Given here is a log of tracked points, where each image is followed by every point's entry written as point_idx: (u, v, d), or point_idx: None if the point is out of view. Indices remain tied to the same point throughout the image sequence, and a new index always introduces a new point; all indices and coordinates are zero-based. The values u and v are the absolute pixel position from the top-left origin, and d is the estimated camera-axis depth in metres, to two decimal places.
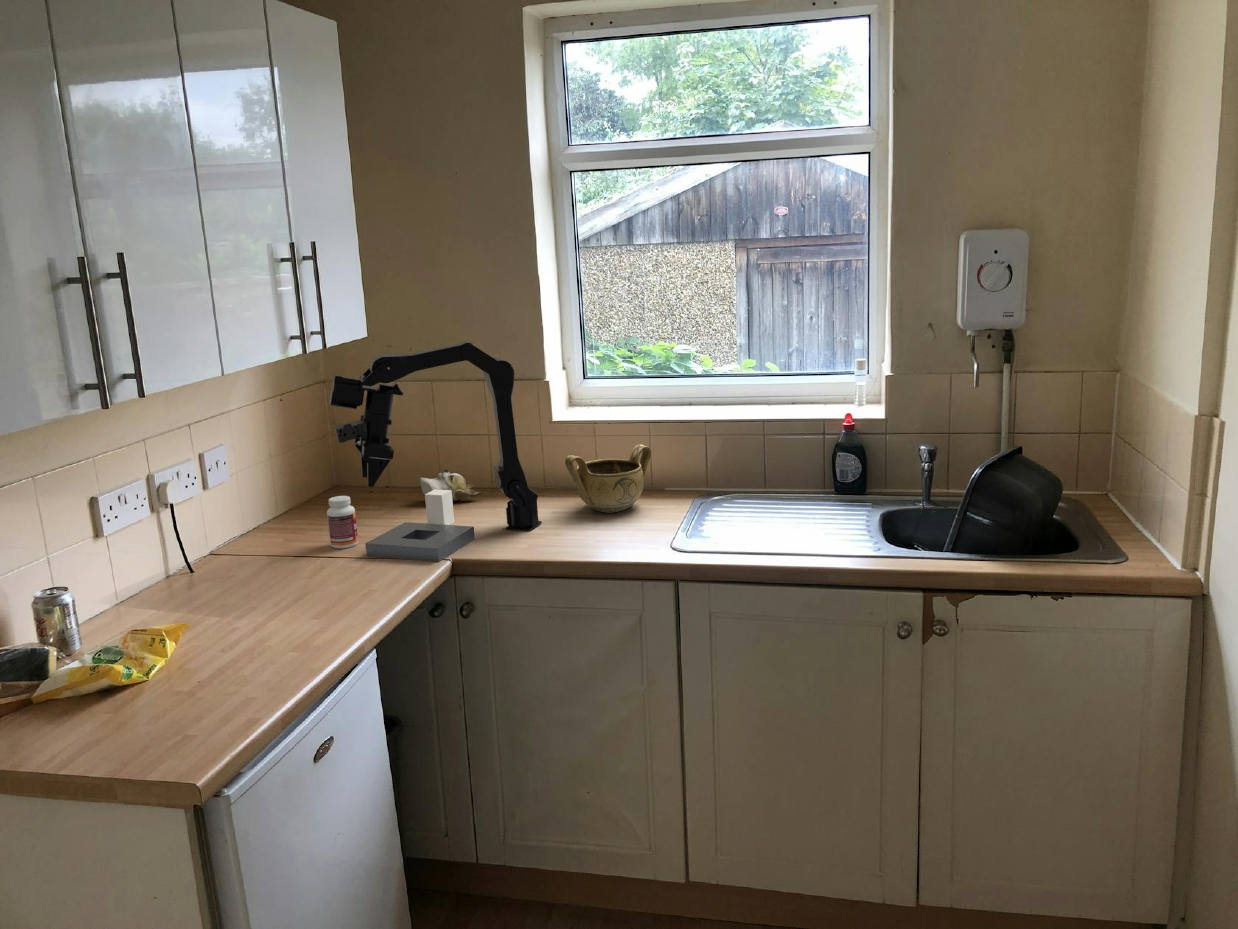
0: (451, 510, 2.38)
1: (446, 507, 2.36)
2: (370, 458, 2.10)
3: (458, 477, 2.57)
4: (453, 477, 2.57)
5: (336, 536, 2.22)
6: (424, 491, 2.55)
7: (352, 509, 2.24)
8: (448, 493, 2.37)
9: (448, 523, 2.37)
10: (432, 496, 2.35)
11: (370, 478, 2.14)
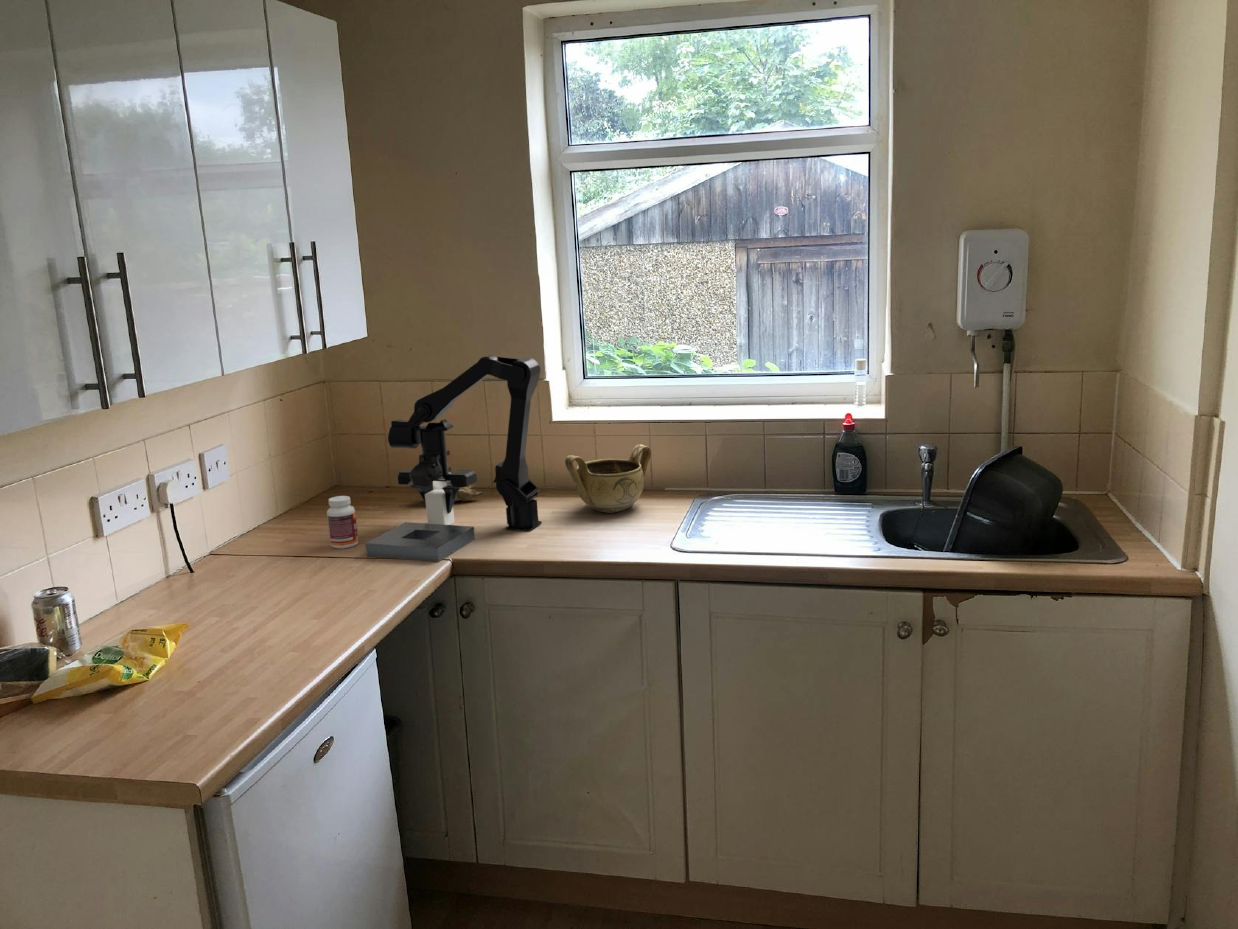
0: (451, 510, 2.38)
1: None
2: (456, 487, 2.33)
3: None
4: None
5: (336, 536, 2.22)
6: None
7: (352, 509, 2.24)
8: None
9: (448, 523, 2.37)
10: (432, 496, 2.35)
11: (450, 505, 2.36)
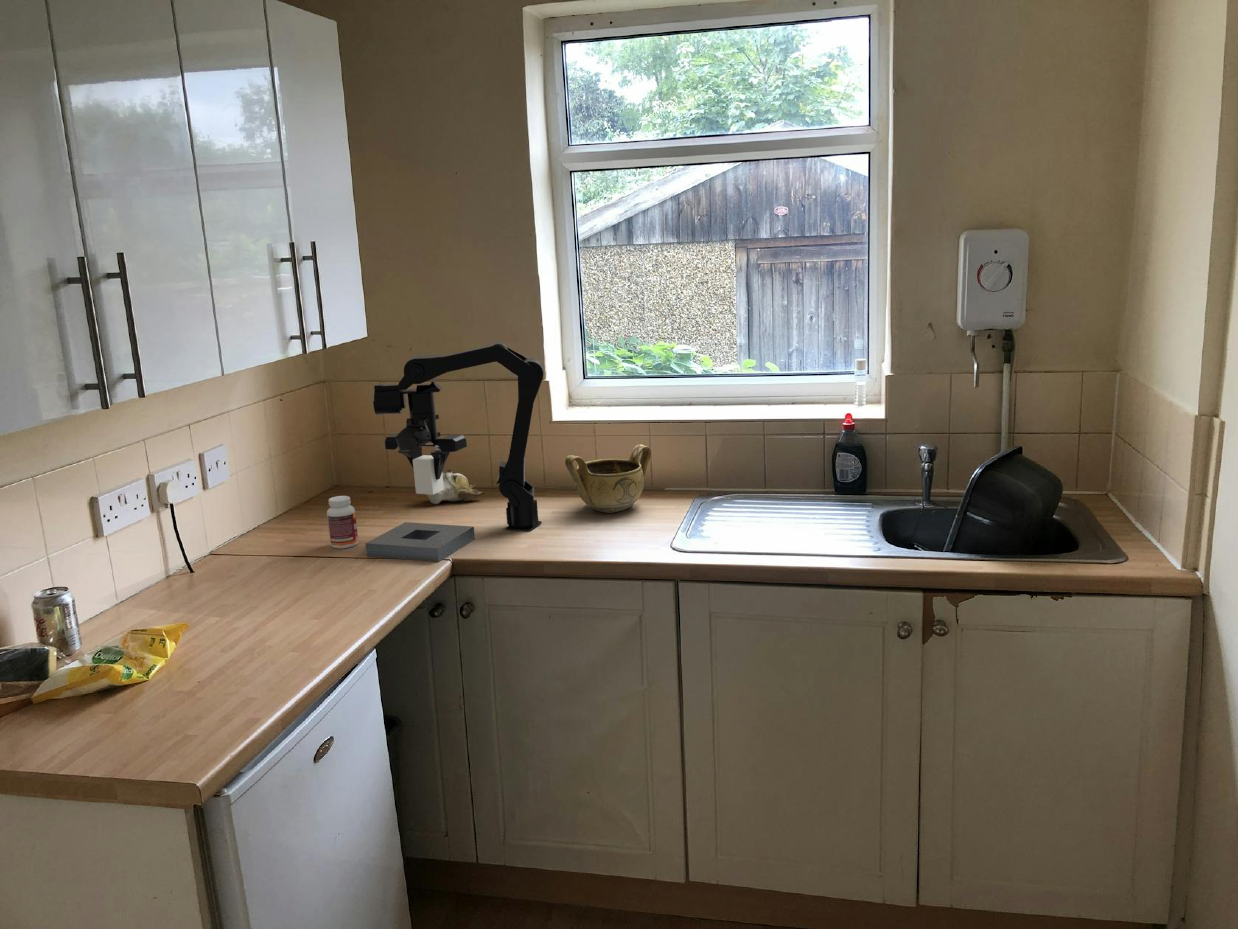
0: (440, 477, 2.29)
1: None
2: (444, 452, 2.24)
3: (461, 477, 2.57)
4: (456, 477, 2.56)
5: (336, 536, 2.22)
6: None
7: (352, 509, 2.24)
8: None
9: (437, 490, 2.28)
10: (420, 461, 2.26)
11: (439, 471, 2.27)
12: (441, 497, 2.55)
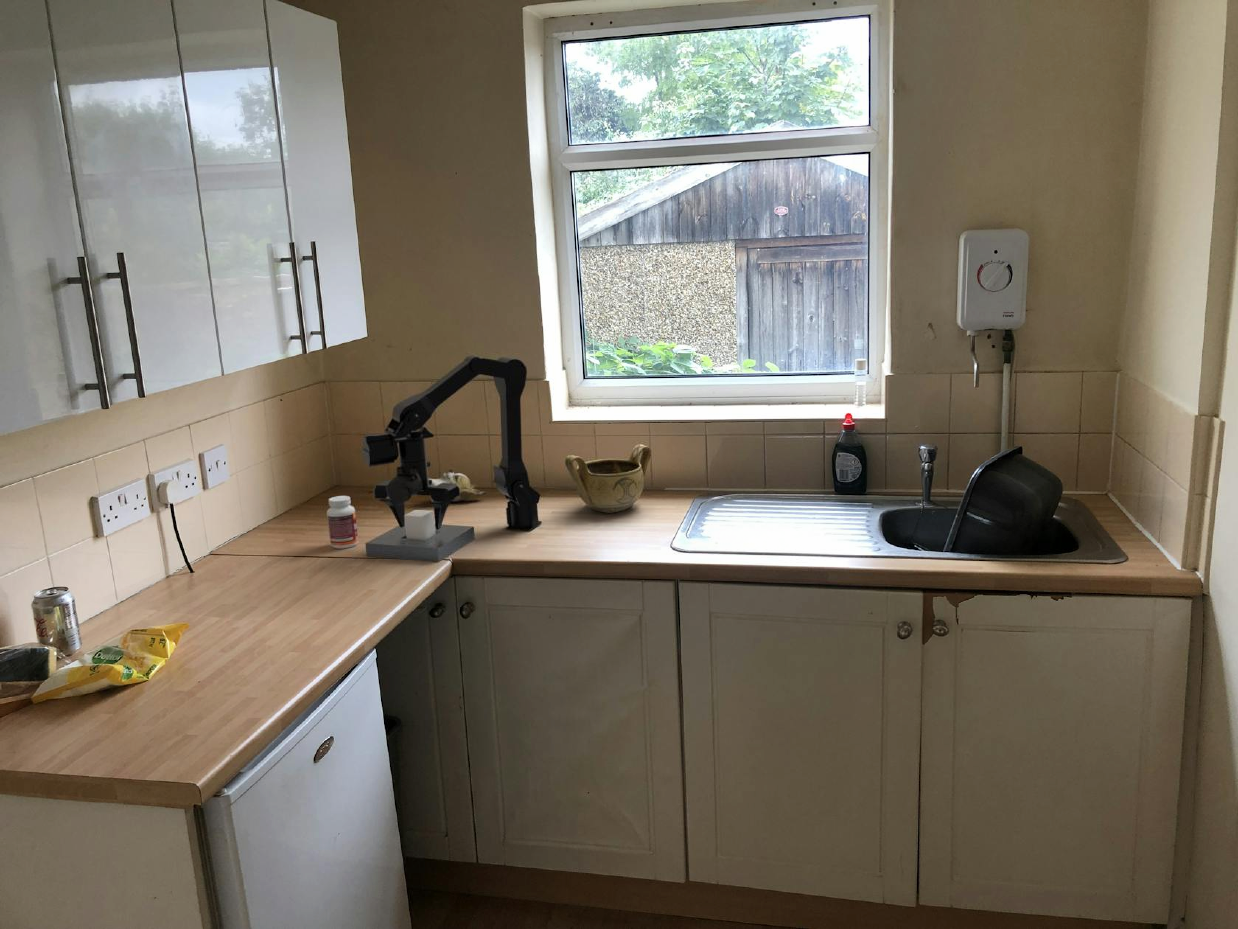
0: (433, 532, 2.21)
1: (428, 529, 2.19)
2: (445, 502, 2.15)
3: (463, 477, 2.57)
4: (458, 477, 2.56)
5: (336, 536, 2.22)
6: None
7: (352, 509, 2.24)
8: (429, 514, 2.19)
9: None
10: (412, 517, 2.17)
11: (439, 521, 2.18)
12: None
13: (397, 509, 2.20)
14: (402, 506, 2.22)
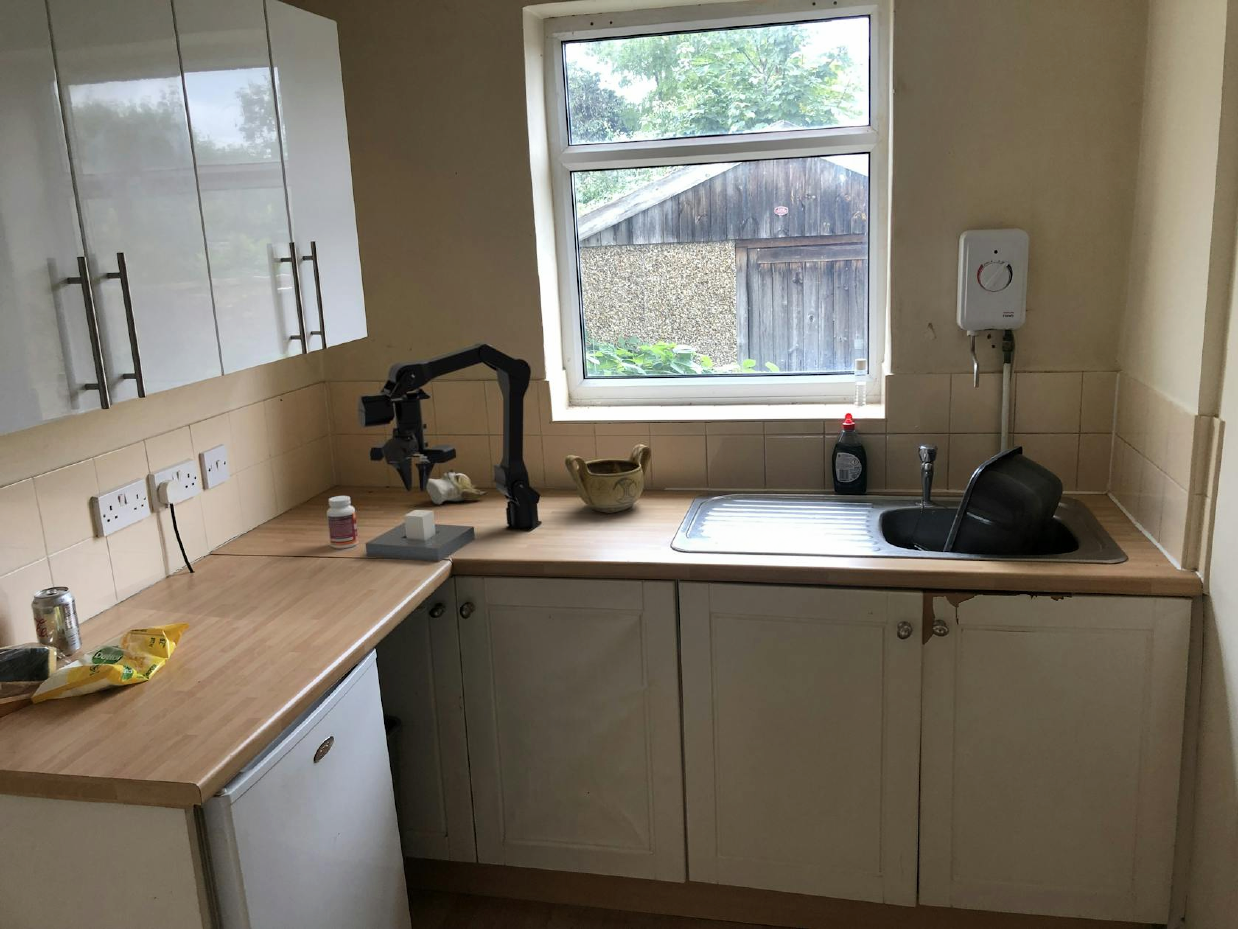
0: (433, 532, 2.21)
1: (428, 529, 2.19)
2: (430, 463, 2.14)
3: (464, 477, 2.57)
4: (459, 477, 2.56)
5: (336, 536, 2.22)
6: (430, 492, 2.55)
7: (352, 509, 2.24)
8: (429, 514, 2.19)
9: None
10: (412, 517, 2.18)
11: (424, 483, 2.17)
12: (444, 497, 2.54)
13: (404, 472, 2.17)
14: (409, 469, 2.19)
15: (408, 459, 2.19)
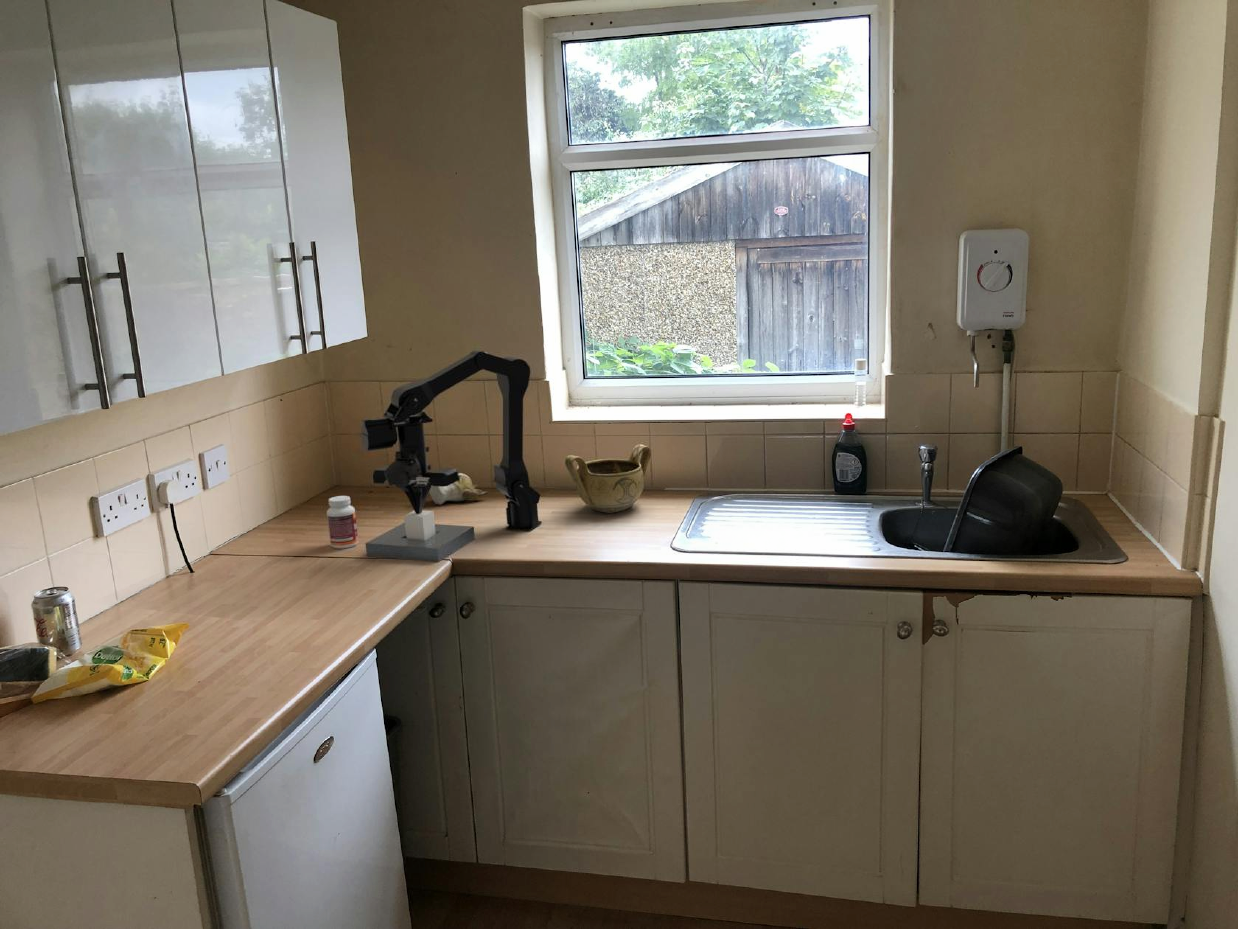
0: (433, 532, 2.21)
1: (428, 529, 2.19)
2: (426, 486, 2.15)
3: (465, 477, 2.57)
4: (460, 477, 2.56)
5: (336, 536, 2.22)
6: (431, 492, 2.54)
7: (352, 509, 2.24)
8: (429, 514, 2.19)
9: None
10: (412, 518, 2.18)
11: (420, 505, 2.18)
12: (445, 497, 2.54)
13: (413, 495, 2.18)
14: None
15: (417, 482, 2.20)
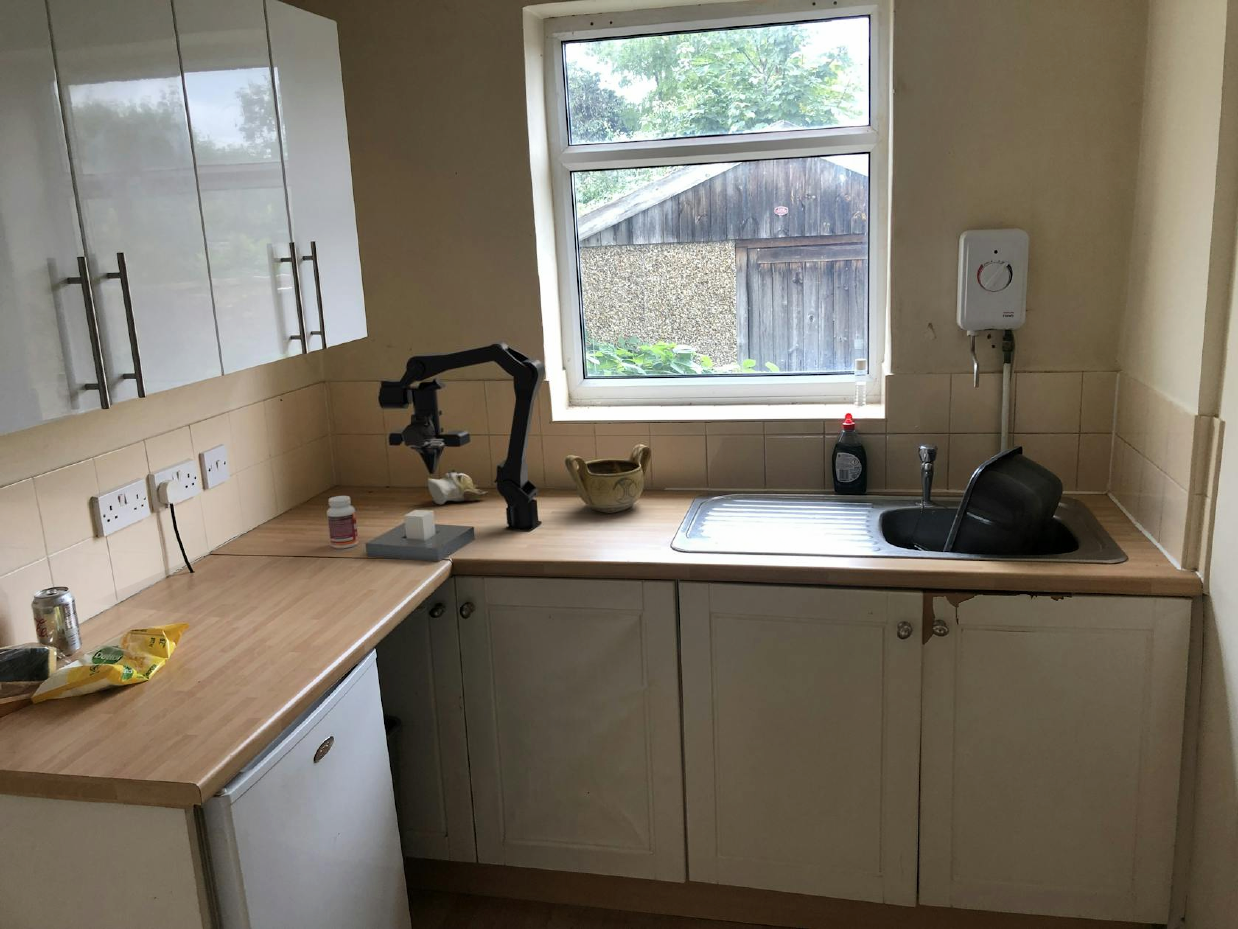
0: (433, 532, 2.21)
1: (428, 529, 2.19)
2: (440, 447, 2.29)
3: (466, 477, 2.57)
4: (461, 477, 2.56)
5: (336, 536, 2.22)
6: (432, 492, 2.54)
7: (352, 509, 2.24)
8: (429, 514, 2.19)
9: None
10: (412, 517, 2.17)
11: (434, 466, 2.32)
12: (446, 497, 2.54)
13: (427, 456, 2.32)
14: None
15: (430, 444, 2.34)
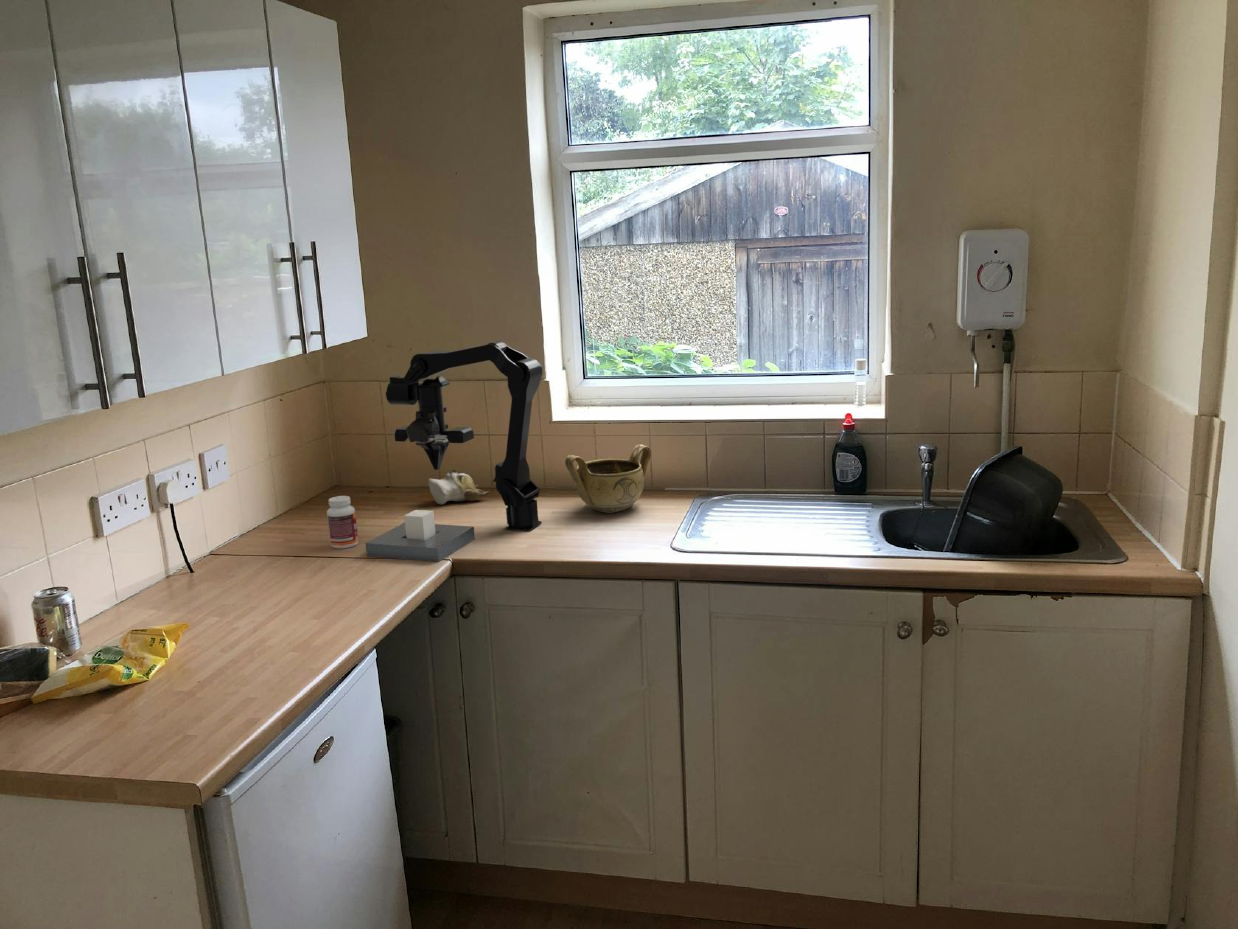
0: (433, 532, 2.21)
1: (428, 529, 2.19)
2: (444, 443, 2.33)
3: (466, 477, 2.57)
4: (462, 477, 2.56)
5: (336, 536, 2.22)
6: (433, 492, 2.54)
7: (352, 509, 2.24)
8: (429, 514, 2.19)
9: None
10: (412, 517, 2.18)
11: (438, 462, 2.36)
12: (447, 497, 2.54)
13: (432, 452, 2.36)
14: None
15: (435, 440, 2.38)
